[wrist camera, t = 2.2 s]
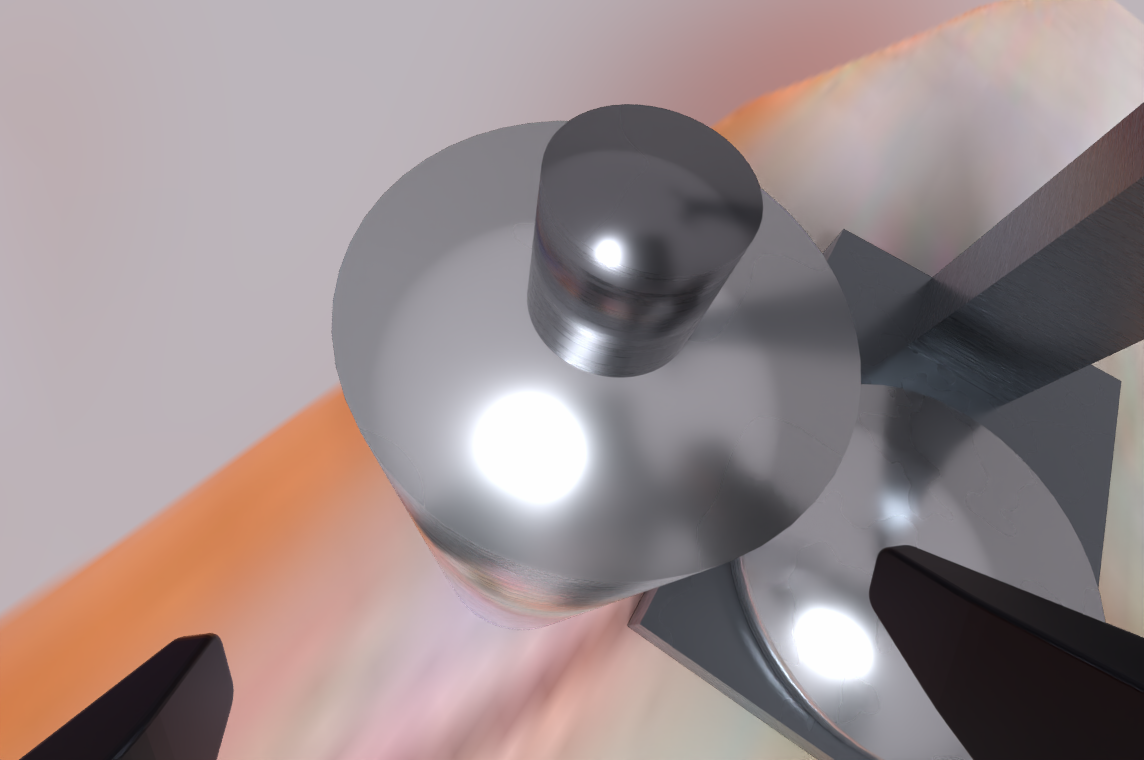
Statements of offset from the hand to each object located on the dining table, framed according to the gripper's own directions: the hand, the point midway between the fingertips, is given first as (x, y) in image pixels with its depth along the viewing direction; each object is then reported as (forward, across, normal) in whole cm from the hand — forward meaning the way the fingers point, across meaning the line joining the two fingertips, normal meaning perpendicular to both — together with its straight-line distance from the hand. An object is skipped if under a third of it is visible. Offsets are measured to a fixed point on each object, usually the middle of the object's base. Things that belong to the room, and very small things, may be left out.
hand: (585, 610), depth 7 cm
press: (+9, -12, +4) cm, 16 cm away
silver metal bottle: (+8, 0, +5) cm, 10 cm away
